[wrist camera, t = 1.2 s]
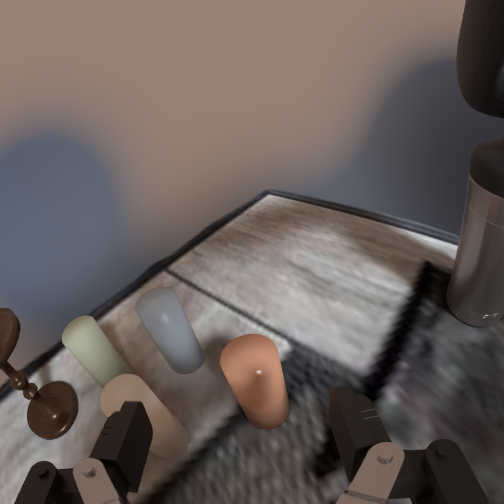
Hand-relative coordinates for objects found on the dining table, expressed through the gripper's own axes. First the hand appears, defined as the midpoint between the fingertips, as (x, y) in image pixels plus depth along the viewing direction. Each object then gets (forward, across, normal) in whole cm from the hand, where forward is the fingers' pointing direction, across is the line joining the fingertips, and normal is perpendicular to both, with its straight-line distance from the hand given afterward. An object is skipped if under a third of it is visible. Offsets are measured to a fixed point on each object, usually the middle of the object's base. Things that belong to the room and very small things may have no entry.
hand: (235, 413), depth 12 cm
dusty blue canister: (+23, +8, +12) cm, 27 cm away
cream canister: (+12, +9, +16) cm, 22 cm away
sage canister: (+20, +17, +14) cm, 30 cm away
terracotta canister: (+15, -1, +14) cm, 20 cm away
